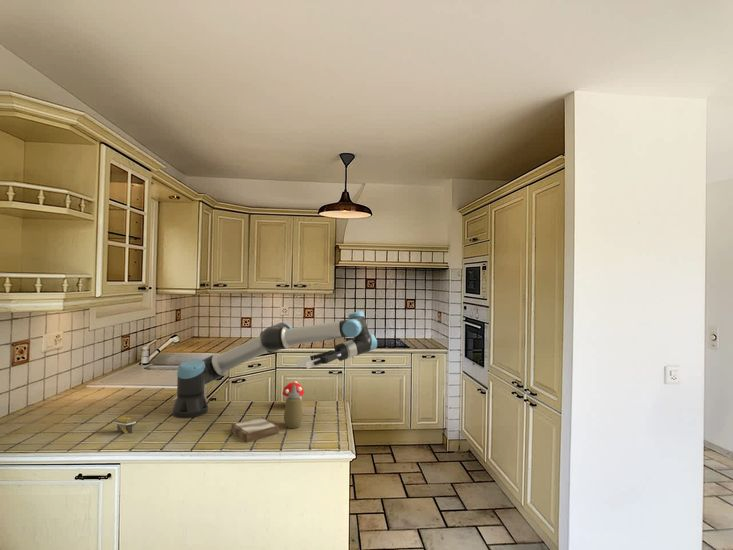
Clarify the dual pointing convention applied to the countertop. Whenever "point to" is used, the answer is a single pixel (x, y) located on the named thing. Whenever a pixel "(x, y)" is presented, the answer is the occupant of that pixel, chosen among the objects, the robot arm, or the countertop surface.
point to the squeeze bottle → (293, 409)
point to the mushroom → (289, 387)
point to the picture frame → (254, 429)
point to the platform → (124, 424)
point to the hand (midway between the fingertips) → (301, 364)
